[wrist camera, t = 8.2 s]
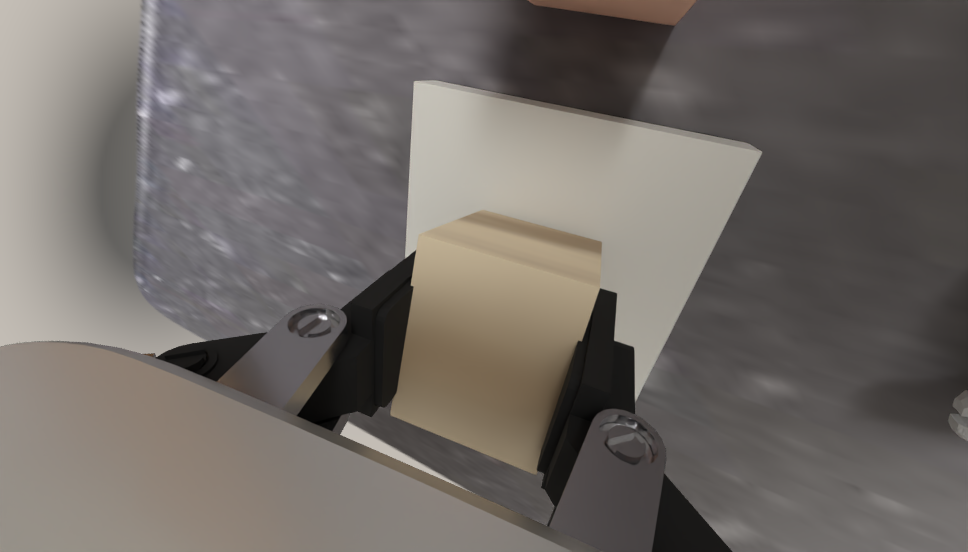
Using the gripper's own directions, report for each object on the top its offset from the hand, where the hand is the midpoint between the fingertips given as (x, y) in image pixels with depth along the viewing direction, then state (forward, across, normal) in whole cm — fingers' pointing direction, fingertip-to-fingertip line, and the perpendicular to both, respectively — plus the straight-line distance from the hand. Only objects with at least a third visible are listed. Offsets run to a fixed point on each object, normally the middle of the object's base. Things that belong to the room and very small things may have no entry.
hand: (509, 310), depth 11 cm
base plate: (+4, 0, 0) cm, 4 cm away
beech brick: (+2, 0, +1) cm, 2 cm away
